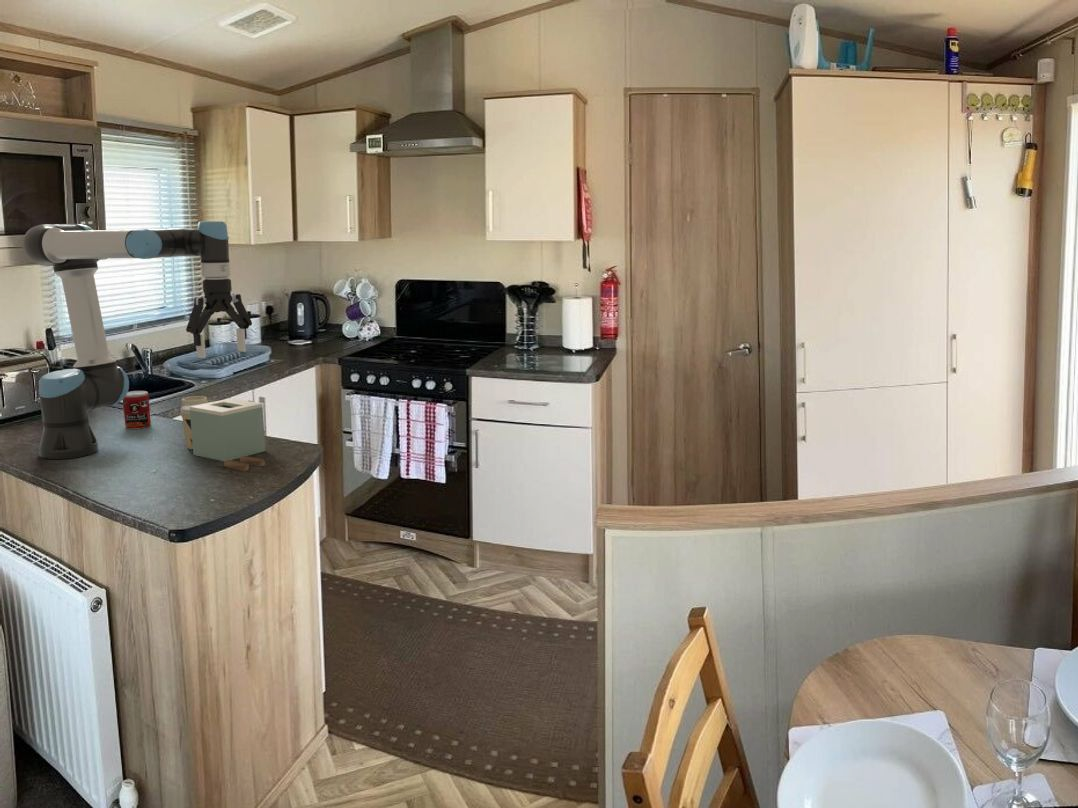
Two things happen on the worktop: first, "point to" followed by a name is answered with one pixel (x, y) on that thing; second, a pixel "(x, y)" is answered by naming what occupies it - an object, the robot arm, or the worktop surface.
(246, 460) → the holder
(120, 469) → the worktop surface
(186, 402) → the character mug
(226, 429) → the green cube box
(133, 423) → the canned food
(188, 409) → the coffee cup
